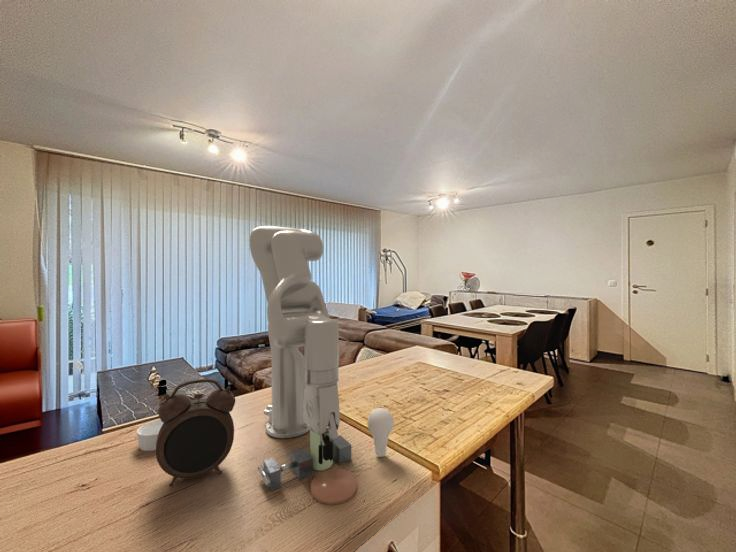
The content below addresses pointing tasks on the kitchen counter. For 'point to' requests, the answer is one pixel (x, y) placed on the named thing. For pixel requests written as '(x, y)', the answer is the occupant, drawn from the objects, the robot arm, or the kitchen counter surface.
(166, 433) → the alarm clock
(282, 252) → the robot arm
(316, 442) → the candle
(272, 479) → the vise
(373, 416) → the lightbulb
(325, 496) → the coaster
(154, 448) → the ramekin
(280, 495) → the kitchen counter surface
